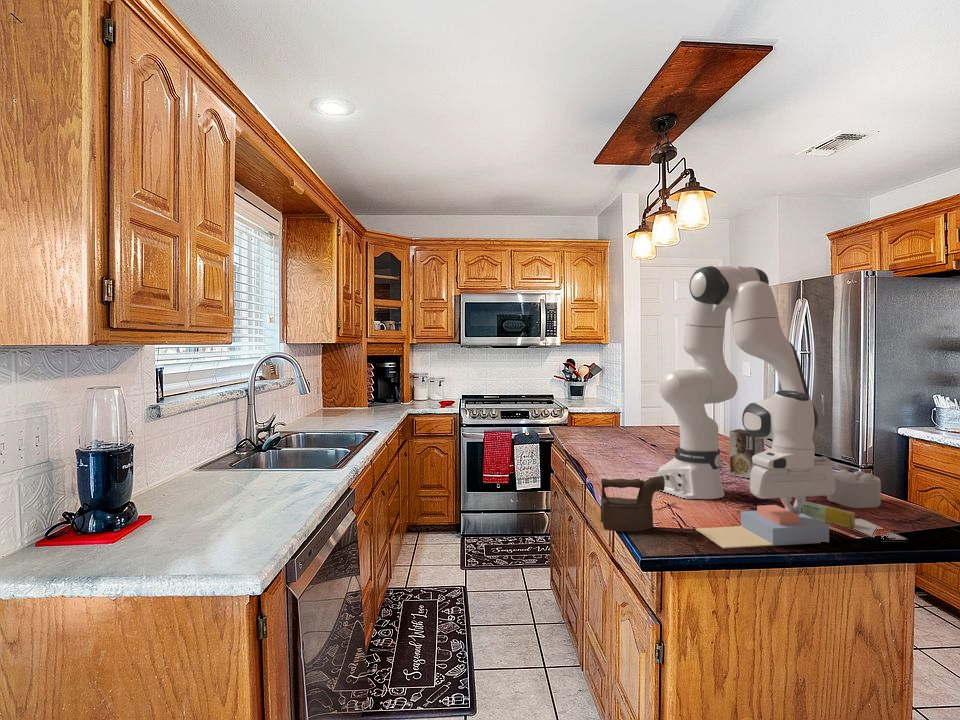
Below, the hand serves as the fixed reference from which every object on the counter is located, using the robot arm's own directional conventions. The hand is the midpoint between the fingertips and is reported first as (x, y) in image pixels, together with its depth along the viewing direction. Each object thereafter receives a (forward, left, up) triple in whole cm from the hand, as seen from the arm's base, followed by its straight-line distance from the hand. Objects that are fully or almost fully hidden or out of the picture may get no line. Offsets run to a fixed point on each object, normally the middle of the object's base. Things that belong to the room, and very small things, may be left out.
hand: (792, 514), depth 122 cm
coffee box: (-29, +48, -5) cm, 56 cm away
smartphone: (+12, +17, -6) cm, 21 cm away
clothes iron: (-30, -25, -5) cm, 39 cm away
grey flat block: (-1, -2, -5) cm, 6 cm away
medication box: (+3, +16, -5) cm, 17 cm away
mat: (-9, -13, -5) cm, 16 cm away
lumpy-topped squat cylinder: (+4, +41, -5) cm, 41 cm away
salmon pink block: (-2, -3, -1) cm, 4 cm away
